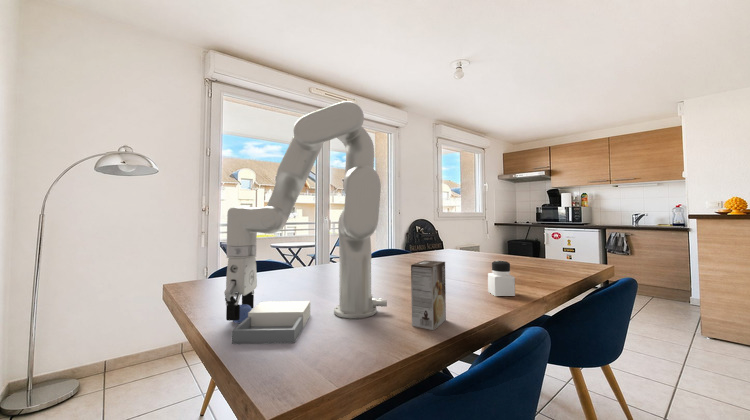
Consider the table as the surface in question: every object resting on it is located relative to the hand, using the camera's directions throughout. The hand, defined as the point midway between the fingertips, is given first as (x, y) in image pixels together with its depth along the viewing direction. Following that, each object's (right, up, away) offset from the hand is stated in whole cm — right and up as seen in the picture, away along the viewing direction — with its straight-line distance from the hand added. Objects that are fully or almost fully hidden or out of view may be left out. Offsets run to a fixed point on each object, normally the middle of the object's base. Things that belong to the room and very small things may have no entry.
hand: (240, 314), depth 84 cm
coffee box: (+51, -2, -2) cm, 51 cm away
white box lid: (+11, -2, -1) cm, 11 cm away
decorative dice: (0, -2, 0) cm, 2 cm away
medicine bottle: (+83, -2, +26) cm, 87 cm away
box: (+12, -2, -10) cm, 16 cm away
